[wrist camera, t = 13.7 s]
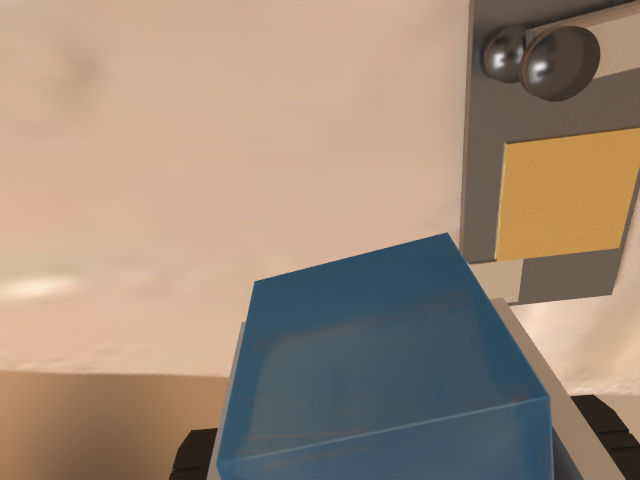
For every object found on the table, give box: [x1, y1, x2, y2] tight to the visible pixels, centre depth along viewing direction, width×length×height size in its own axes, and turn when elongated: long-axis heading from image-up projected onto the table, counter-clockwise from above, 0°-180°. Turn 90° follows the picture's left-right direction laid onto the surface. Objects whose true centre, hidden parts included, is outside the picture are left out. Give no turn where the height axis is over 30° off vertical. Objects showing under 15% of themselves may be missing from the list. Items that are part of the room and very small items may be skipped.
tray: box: [459, 0, 640, 306], centre depth 28 cm, size 22×12×2 cm, turn 7°
